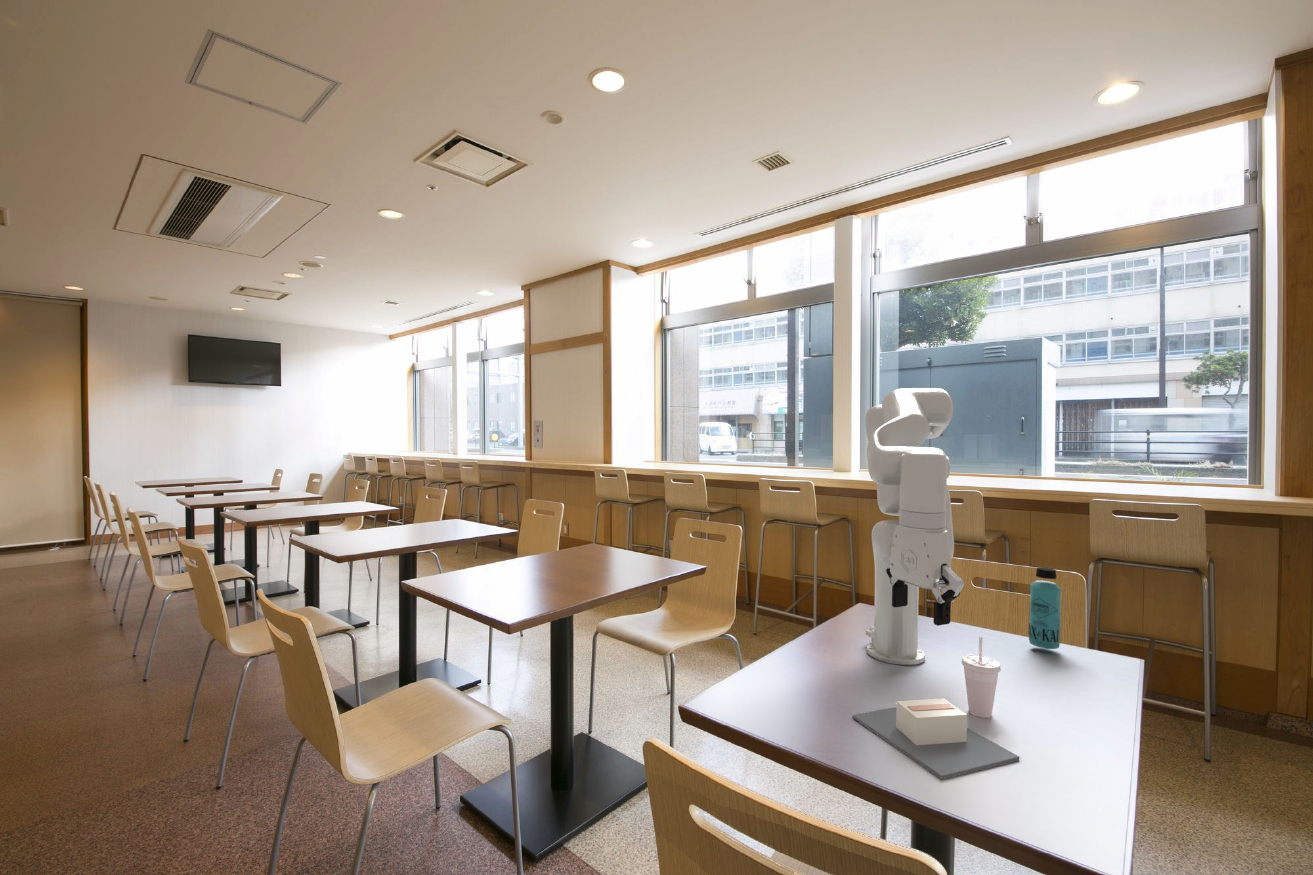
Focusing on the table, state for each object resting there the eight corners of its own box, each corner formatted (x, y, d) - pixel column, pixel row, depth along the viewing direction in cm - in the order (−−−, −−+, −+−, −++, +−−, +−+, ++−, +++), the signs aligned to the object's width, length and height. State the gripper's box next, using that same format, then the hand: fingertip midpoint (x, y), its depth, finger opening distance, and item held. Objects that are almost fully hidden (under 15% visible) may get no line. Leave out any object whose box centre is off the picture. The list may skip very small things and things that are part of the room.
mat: (852, 718, 106) (852, 714, 106) (921, 705, 112) (921, 702, 112) (941, 779, 87) (941, 775, 87) (1019, 760, 93) (1019, 756, 93)
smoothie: (995, 708, 111) (997, 634, 111) (1003, 724, 105) (1005, 645, 105) (958, 702, 113) (959, 630, 113) (963, 717, 107) (965, 641, 107)
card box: (943, 723, 103) (943, 697, 103) (966, 741, 97) (966, 713, 97) (896, 727, 102) (896, 700, 102) (916, 745, 96) (917, 716, 96)
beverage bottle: (1028, 643, 146) (1030, 563, 146) (1061, 649, 142) (1062, 567, 142) (1027, 651, 141) (1028, 568, 141) (1060, 658, 137) (1062, 572, 137)
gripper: (871, 513, 111) (869, 602, 112) (945, 530, 95) (943, 635, 96) (902, 510, 114) (900, 598, 114) (980, 527, 97) (977, 629, 98)
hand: (919, 614), depth 105 cm, fingers open, 9 cm apart
